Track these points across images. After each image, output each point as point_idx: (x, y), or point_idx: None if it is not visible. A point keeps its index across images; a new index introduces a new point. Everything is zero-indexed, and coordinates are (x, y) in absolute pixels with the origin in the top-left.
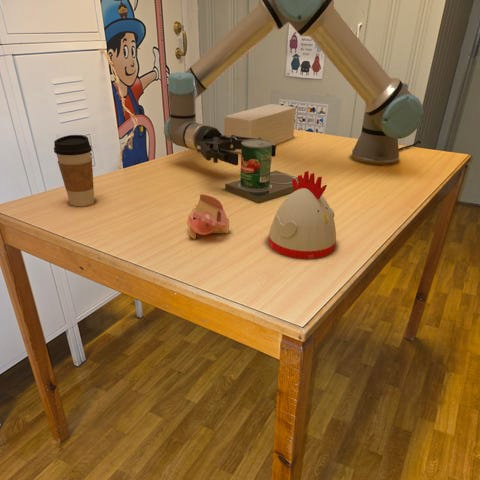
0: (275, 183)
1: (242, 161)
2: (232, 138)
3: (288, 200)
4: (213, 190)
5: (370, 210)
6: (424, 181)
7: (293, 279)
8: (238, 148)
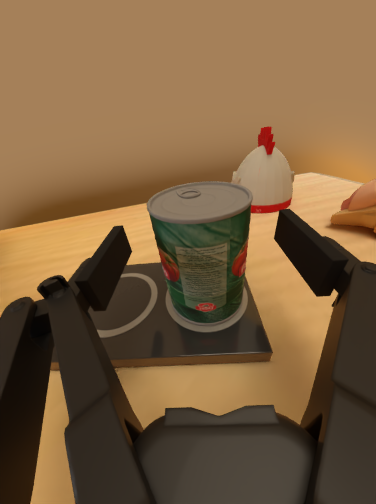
0: (156, 285)
1: (247, 246)
2: (120, 414)
3: (283, 156)
4: (313, 381)
5: (144, 215)
6: (10, 234)
7: (294, 185)
8: (122, 392)
